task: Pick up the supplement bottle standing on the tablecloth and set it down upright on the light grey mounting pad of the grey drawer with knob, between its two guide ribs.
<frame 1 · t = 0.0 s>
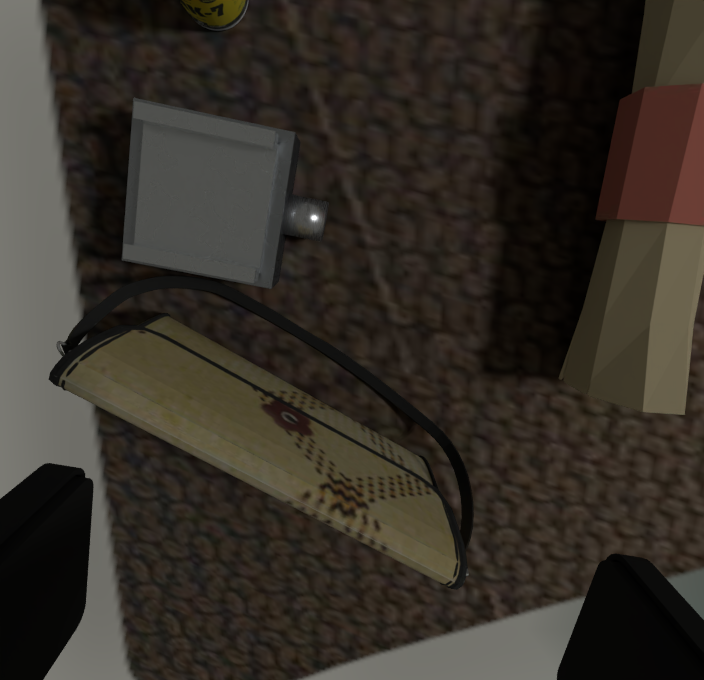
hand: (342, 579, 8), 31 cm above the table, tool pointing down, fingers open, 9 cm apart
scroll: (635, 172, 37), on the table
beige handbag: (305, 372, 40), on the table
grey drawer with knob: (220, 200, 36), on the table
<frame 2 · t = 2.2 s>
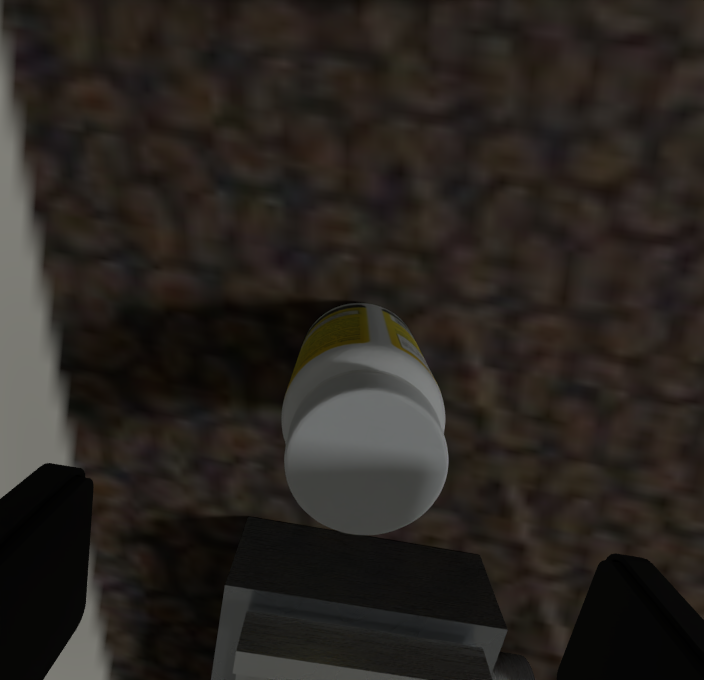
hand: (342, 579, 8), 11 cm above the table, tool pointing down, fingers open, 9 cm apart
supplement bottle: (359, 355, 19), on the table
grey drawer with knob: (343, 628, 23), on the table
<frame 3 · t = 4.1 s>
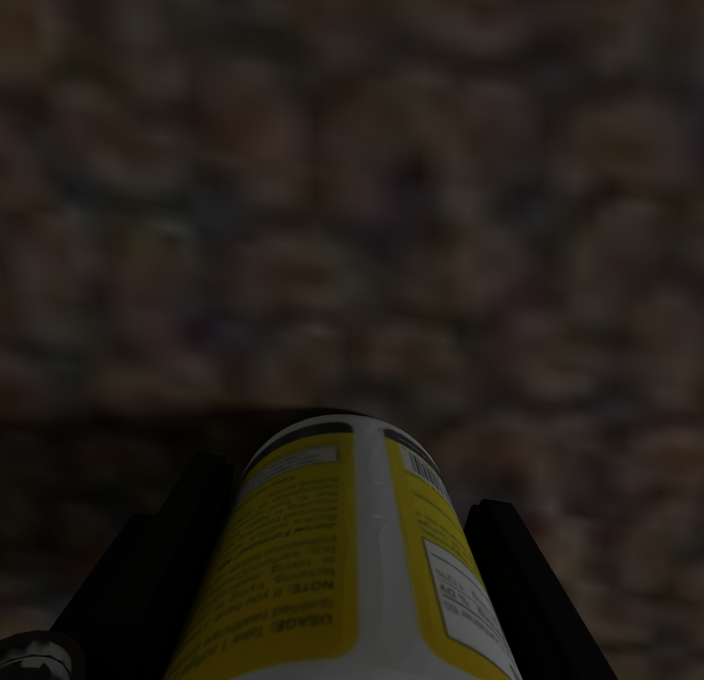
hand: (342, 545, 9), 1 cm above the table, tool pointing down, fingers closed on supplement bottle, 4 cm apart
supplement bottle: (342, 498, 11), on the table, touching gripper
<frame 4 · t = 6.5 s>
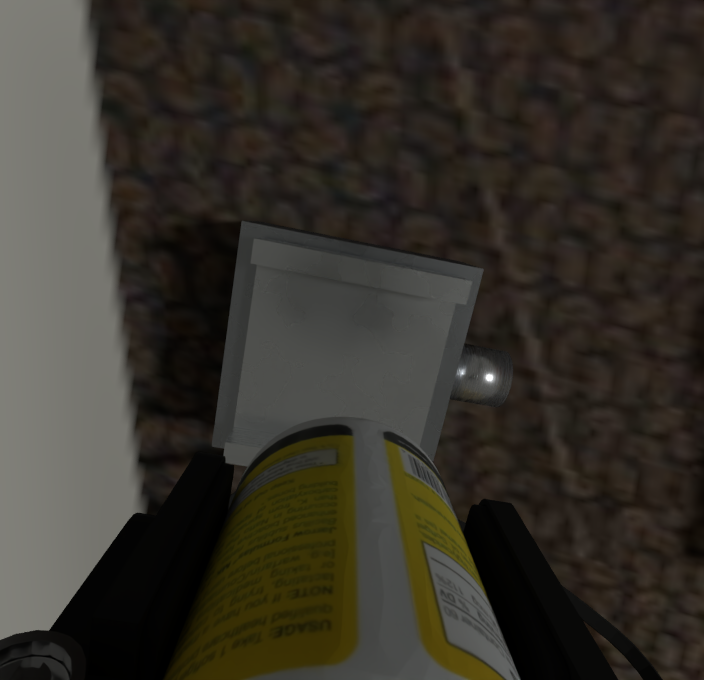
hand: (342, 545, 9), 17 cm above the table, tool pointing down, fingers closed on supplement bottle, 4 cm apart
beige handbag: (437, 561, 30), on the table
supplement bottle: (342, 500, 11), point 15 cm above the table, touching gripper
grey drawer with knob: (341, 340, 26), on the table
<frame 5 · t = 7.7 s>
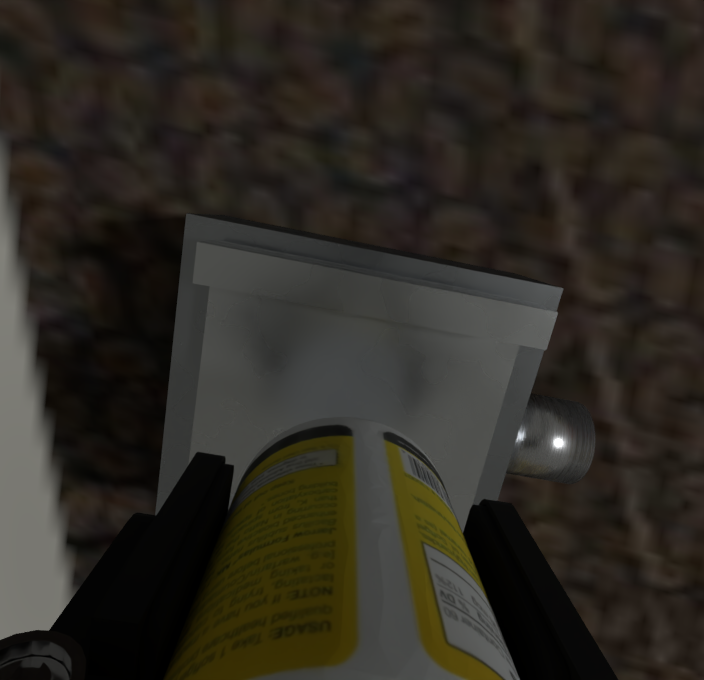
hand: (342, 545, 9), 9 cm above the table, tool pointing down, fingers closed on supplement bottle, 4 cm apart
supplement bottle: (342, 501, 11), point 8 cm above the table, touching gripper
grey drawer with knob: (343, 382, 18), on the table
when the fingers open (7 cm above the table, at t = 8.9 s): supplement bottle drops 1 cm, resting on grey drawer with knob.
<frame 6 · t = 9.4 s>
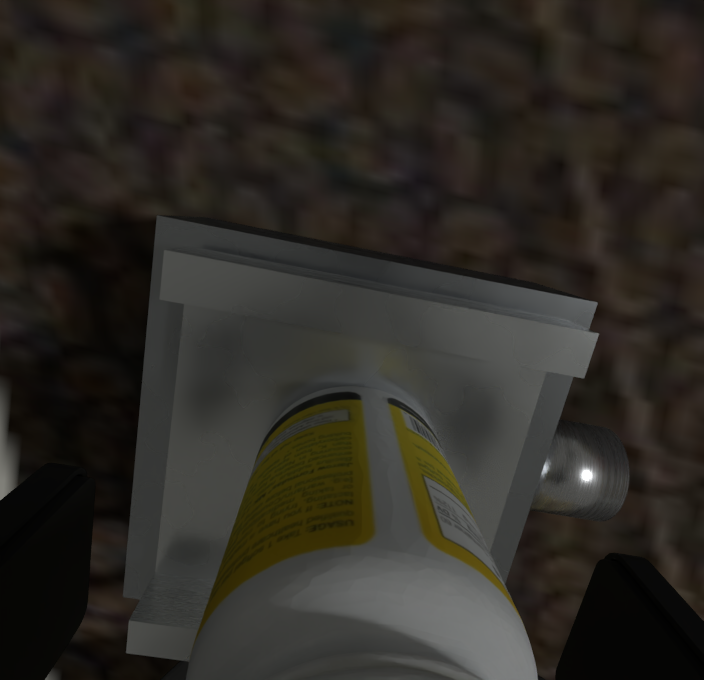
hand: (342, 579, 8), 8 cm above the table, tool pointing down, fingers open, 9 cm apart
supplement bottle: (350, 463, 12), point 4 cm above the table, touching grey drawer with knob
grey drawer with knob: (342, 404, 16), on the table
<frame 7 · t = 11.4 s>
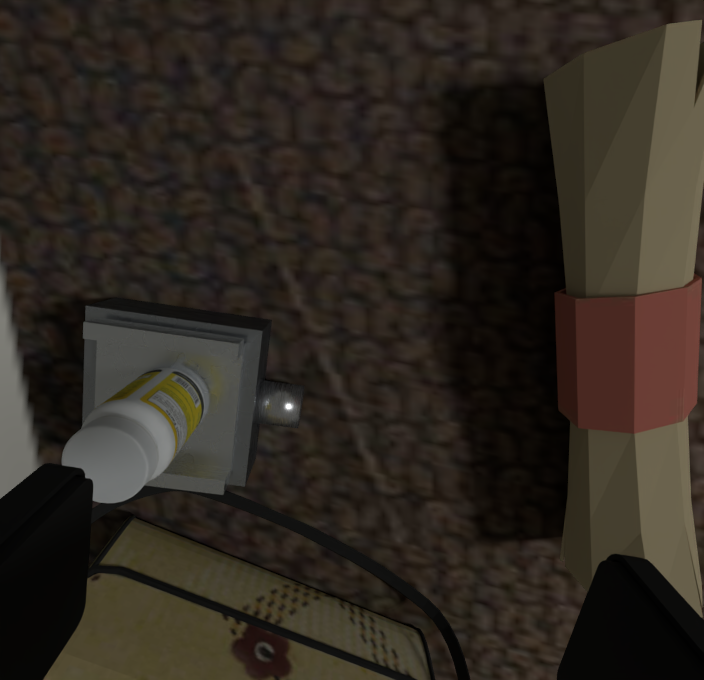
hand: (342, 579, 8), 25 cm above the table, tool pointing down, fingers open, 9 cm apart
scroll: (593, 330, 34), on the table
beige handbag: (286, 554, 38), on the table
supplement bottle: (170, 400, 30), point 4 cm above the table, touching grey drawer with knob
grey drawer with knob: (188, 381, 34), on the table
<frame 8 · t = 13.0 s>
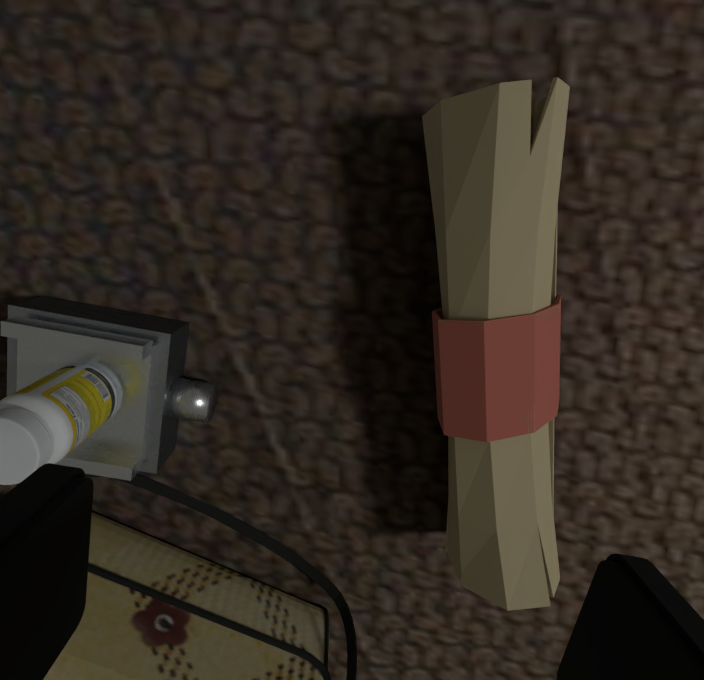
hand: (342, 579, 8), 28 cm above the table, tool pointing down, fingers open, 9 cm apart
scroll: (482, 344, 37), on the table
beige handbag: (204, 537, 41), on the table
supplement bottle: (86, 393, 33), point 4 cm above the table, touching grey drawer with knob
grey drawer with knob: (113, 375, 37), on the table
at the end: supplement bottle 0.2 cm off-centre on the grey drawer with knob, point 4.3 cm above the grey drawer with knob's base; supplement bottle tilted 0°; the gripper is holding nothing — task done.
